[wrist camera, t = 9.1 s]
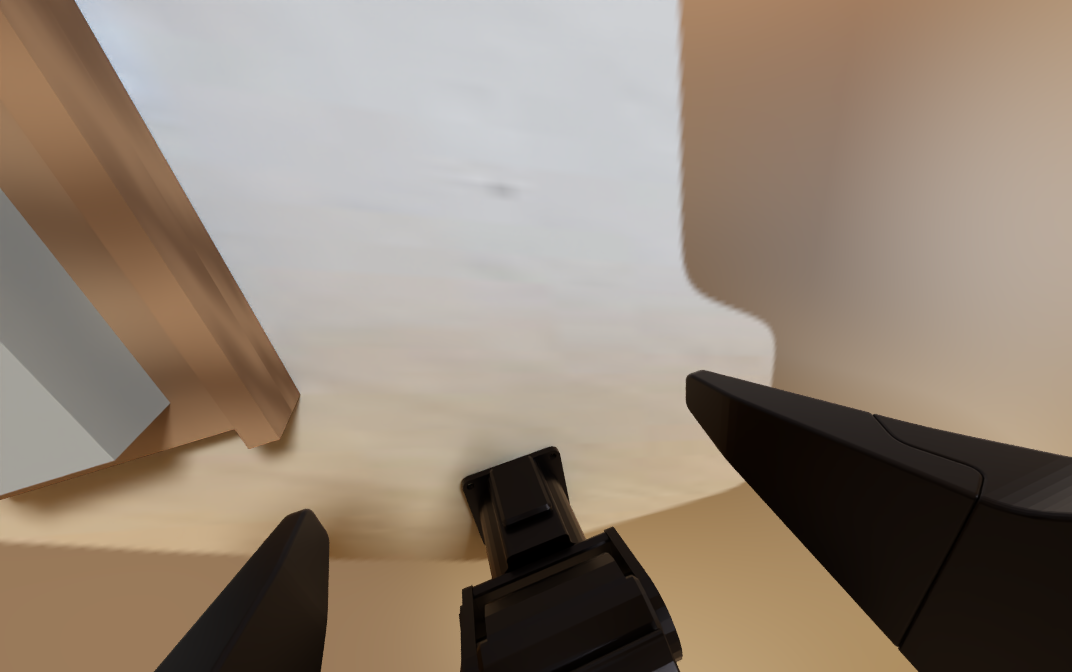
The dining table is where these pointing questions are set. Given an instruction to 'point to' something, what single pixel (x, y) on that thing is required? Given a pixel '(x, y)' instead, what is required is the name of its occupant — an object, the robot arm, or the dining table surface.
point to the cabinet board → (129, 235)
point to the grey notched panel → (59, 369)
